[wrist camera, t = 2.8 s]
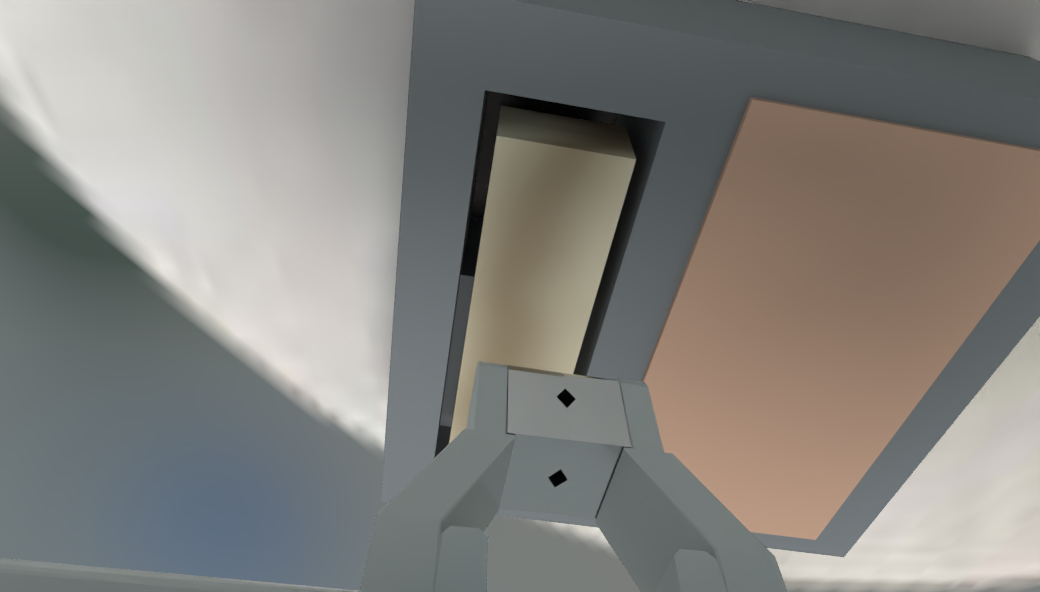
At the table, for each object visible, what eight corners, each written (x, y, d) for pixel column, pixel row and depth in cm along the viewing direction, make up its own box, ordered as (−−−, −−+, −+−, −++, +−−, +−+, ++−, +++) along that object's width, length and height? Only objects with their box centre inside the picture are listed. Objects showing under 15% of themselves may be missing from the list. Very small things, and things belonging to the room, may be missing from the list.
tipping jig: (1029, 57, 23) (1198, 130, 17) (793, 439, 35) (845, 561, 29) (448, -56, 21) (414, -16, 15) (407, 387, 33) (380, 505, 27)
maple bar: (626, 127, 20) (636, 159, 18) (542, 429, 28) (543, 475, 26) (500, 105, 20) (496, 135, 18) (452, 417, 28) (446, 462, 26)
